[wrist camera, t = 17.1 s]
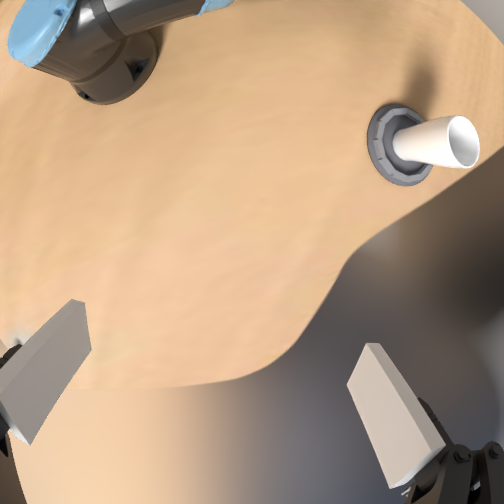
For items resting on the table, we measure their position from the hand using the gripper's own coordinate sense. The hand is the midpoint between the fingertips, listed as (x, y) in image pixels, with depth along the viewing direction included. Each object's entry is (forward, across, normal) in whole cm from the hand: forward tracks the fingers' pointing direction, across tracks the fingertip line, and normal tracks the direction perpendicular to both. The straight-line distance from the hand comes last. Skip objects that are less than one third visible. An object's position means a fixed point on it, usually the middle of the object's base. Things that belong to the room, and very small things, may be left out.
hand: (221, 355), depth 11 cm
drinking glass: (+30, +24, +18) cm, 43 cm away
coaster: (+31, +25, +18) cm, 43 cm away
